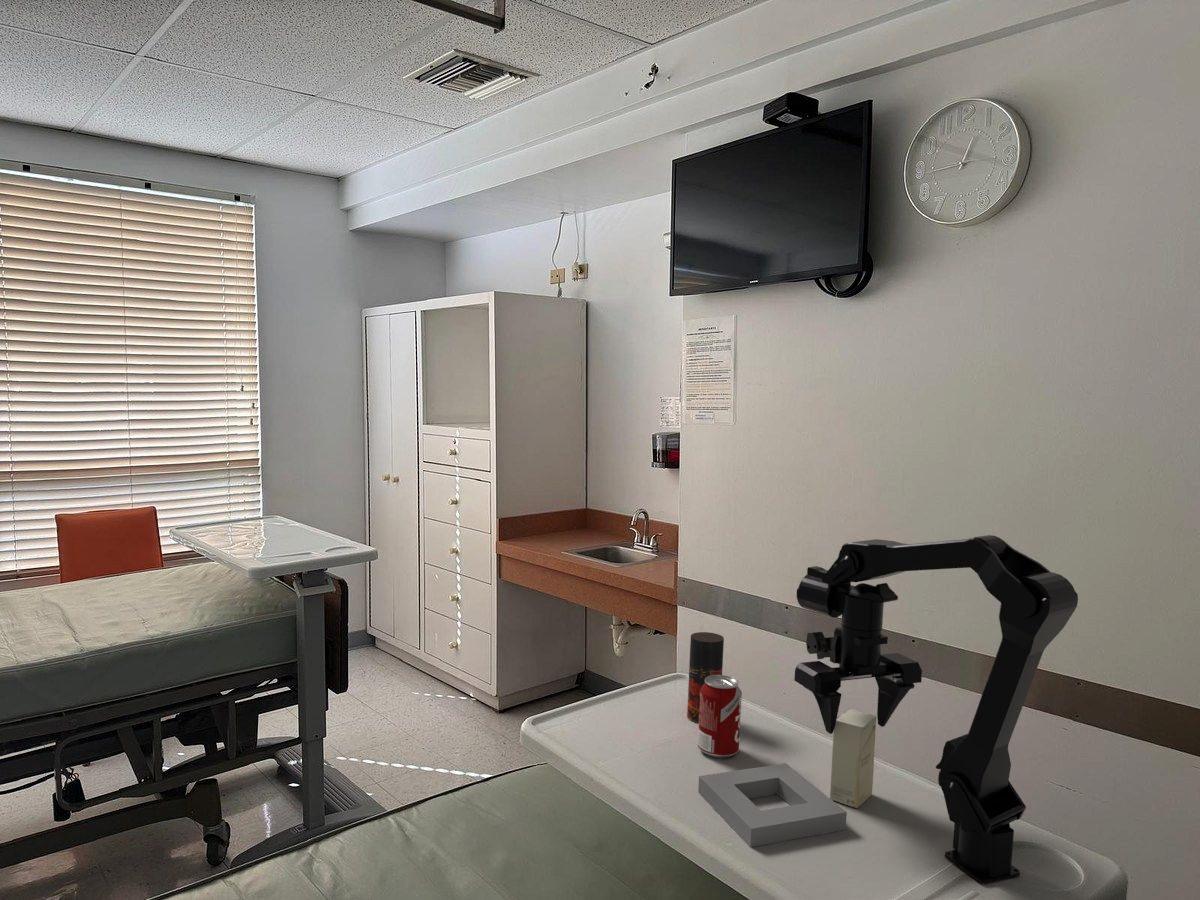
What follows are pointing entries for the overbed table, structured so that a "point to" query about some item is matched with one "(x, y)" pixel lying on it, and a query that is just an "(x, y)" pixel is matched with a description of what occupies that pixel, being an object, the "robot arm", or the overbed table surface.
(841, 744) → the skincare box
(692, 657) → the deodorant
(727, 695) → the soda can
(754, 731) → the overbed table surface
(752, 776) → the socket holder
